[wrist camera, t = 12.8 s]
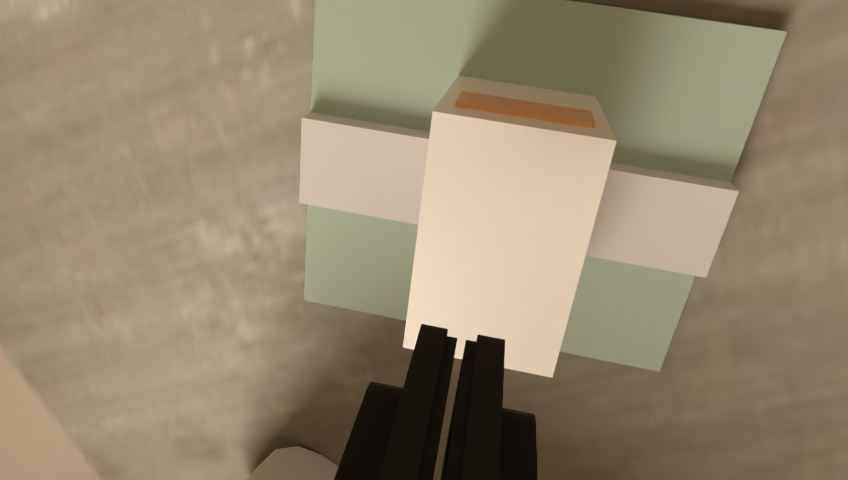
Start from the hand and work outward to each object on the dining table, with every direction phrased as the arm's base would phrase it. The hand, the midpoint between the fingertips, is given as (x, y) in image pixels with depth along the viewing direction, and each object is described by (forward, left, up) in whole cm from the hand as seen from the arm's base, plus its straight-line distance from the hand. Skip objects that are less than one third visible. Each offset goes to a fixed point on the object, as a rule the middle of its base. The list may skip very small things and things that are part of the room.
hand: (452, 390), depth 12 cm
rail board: (0, 0, -13) cm, 13 cm away
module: (-1, 0, -13) cm, 13 cm away
